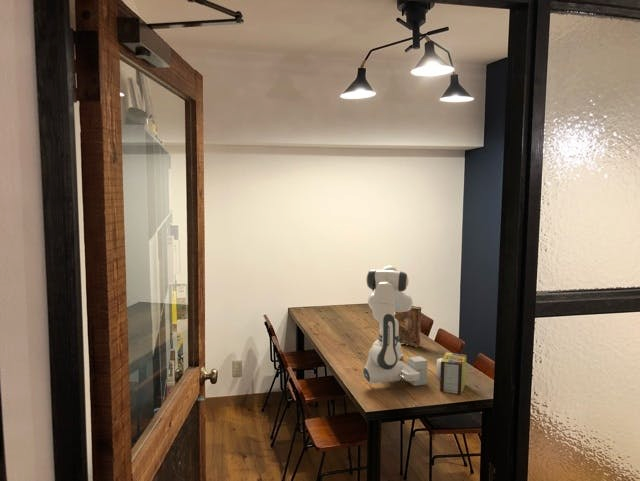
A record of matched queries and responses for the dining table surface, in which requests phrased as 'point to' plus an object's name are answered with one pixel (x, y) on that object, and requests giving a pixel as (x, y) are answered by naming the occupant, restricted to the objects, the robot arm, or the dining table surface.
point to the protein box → (453, 373)
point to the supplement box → (418, 369)
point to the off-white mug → (438, 367)
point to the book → (409, 326)
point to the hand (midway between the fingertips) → (418, 369)
